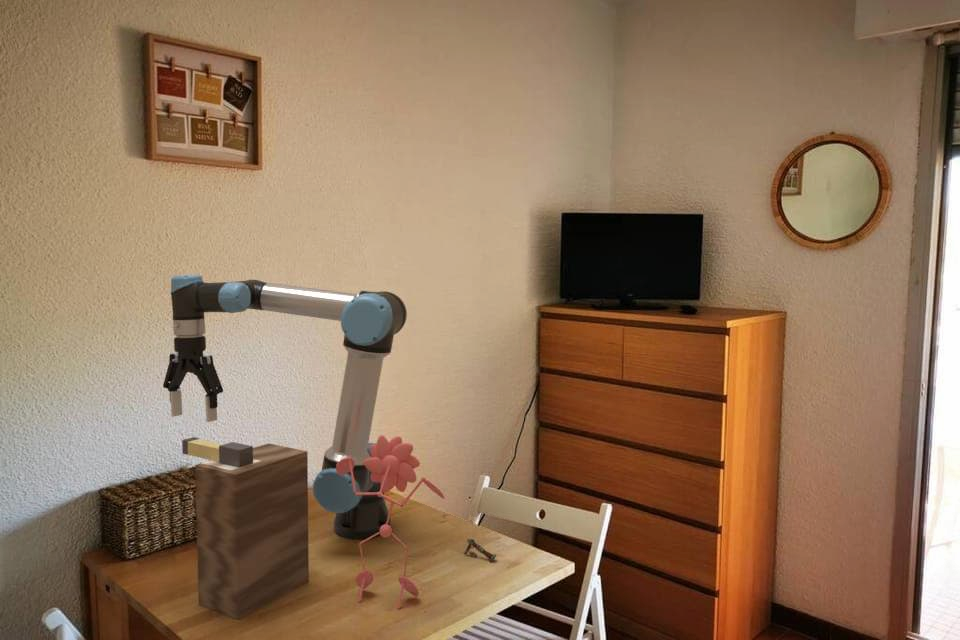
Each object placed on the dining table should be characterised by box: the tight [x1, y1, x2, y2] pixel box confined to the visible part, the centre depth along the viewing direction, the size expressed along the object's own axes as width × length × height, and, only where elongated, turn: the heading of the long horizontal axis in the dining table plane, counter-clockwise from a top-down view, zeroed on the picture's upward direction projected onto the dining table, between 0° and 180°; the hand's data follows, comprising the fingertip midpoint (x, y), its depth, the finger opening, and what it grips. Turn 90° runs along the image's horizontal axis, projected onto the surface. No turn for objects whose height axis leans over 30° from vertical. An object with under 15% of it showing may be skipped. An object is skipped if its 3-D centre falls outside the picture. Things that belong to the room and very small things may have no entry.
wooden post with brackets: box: [463, 538, 497, 563], centre depth 179 cm, size 2×8×4 cm, turn 64°
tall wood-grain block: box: [194, 443, 310, 620], centre depth 158 cm, size 12×20×30 cm, turn 149°
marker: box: [181, 436, 254, 468], centre depth 155 cm, size 18×4×4 cm, turn 59°
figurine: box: [336, 434, 445, 615], centre depth 160 cm, size 15×26×35 cm, turn 72°
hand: (194, 418), depth 188 cm, fingers open, 13 cm apart
